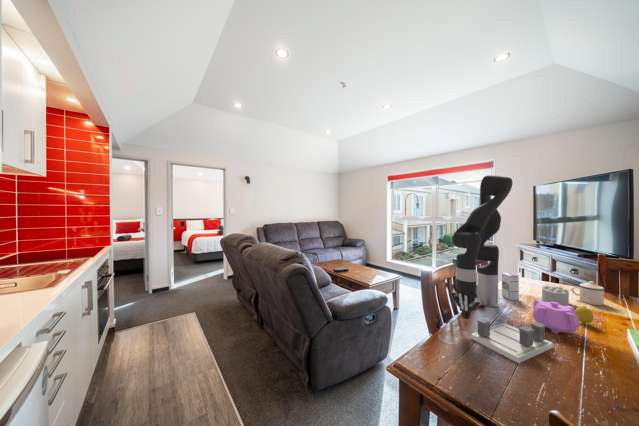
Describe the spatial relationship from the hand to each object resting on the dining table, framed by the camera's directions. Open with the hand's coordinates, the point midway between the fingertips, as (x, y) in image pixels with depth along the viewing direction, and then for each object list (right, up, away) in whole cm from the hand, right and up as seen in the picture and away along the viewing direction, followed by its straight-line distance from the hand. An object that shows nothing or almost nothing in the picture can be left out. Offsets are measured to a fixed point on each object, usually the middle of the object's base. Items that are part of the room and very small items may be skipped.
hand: (466, 318), depth 96 cm
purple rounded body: (+40, -6, +2) cm, 41 cm away
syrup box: (+50, -5, +36) cm, 62 cm away
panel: (+12, -6, -8) cm, 16 cm away
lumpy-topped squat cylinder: (+70, -5, +30) cm, 76 cm away
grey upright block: (+3, -4, -7) cm, 8 cm away
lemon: (+58, -6, +6) cm, 59 cm away
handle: (+21, -3, -10) cm, 24 cm away
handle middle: (+14, -4, -13) cm, 19 cm away
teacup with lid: (+89, -5, +31) cm, 94 cm away
